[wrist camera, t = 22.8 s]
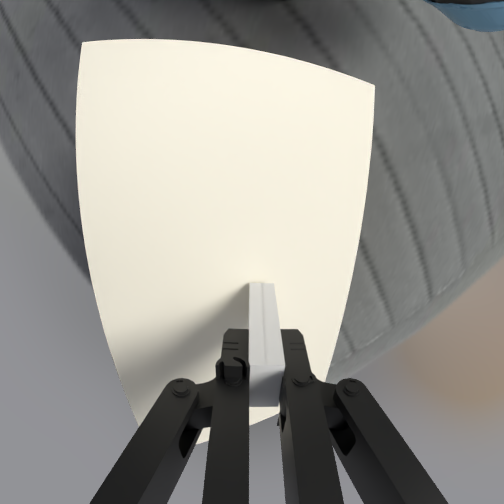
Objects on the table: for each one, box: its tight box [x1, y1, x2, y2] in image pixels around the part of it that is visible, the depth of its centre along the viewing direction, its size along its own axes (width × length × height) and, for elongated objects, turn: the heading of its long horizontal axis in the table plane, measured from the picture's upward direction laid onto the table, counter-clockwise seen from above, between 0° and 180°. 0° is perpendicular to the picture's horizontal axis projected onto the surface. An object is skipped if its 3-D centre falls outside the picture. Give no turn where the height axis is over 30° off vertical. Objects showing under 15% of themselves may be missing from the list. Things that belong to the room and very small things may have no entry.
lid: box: [76, 39, 375, 444], centre depth 18 cm, size 17×28×1 cm, turn 177°
